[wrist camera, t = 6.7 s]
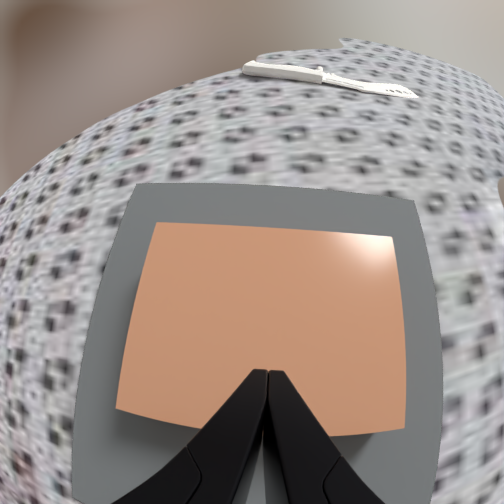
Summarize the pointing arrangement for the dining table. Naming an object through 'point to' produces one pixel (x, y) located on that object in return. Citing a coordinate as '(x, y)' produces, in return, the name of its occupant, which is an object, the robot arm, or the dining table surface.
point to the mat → (177, 436)
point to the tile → (267, 324)
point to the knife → (322, 78)
